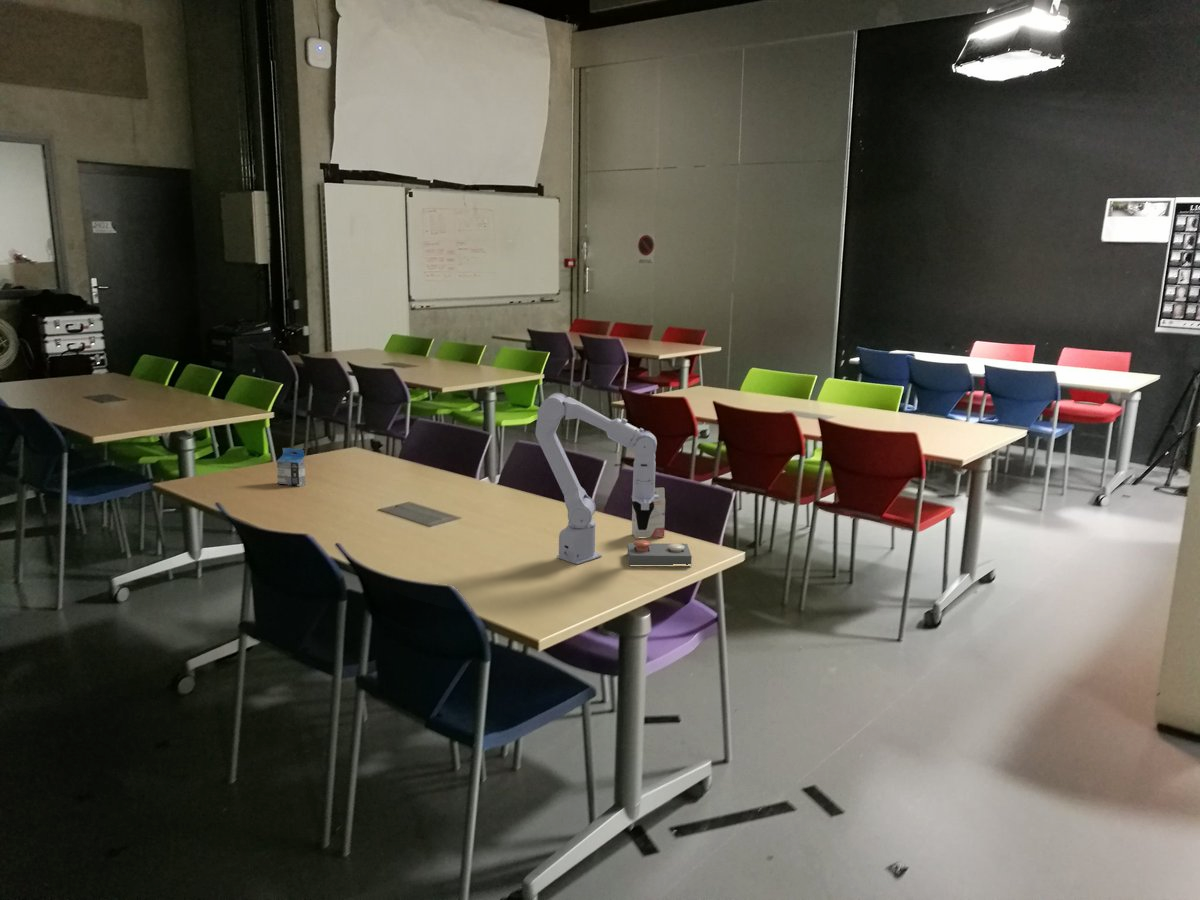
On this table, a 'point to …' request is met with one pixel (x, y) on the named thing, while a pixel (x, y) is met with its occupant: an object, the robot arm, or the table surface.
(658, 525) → the ink cartridge box
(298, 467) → the label tape box
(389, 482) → the table surface
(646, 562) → the console
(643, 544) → the plunger red
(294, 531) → the table surface
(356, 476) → the table surface
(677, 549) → the plunger ivory
